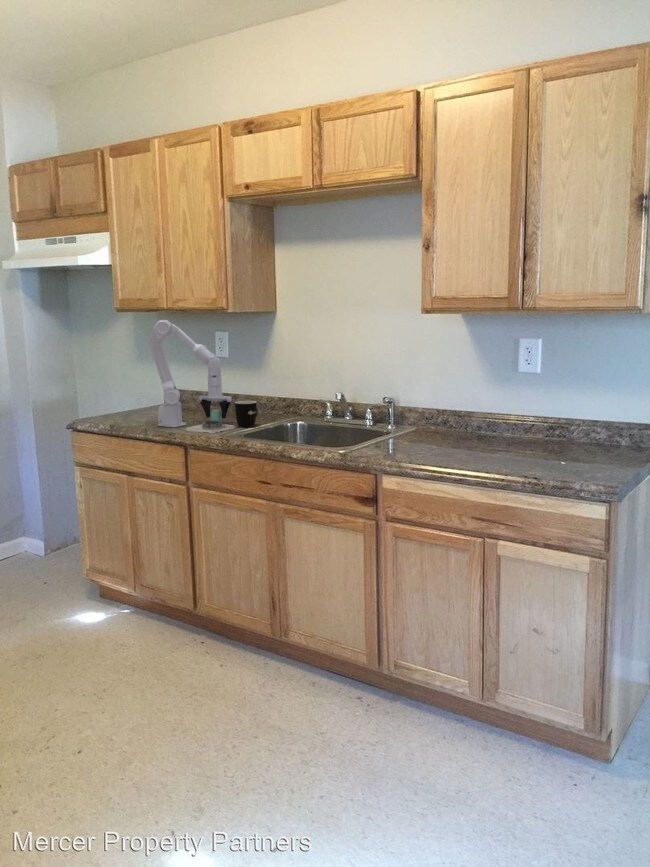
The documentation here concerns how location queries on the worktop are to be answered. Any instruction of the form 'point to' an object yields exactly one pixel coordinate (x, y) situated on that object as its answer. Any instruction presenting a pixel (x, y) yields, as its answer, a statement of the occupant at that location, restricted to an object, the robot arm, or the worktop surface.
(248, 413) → the mug
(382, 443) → the worktop surface
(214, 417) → the knob
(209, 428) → the panel
